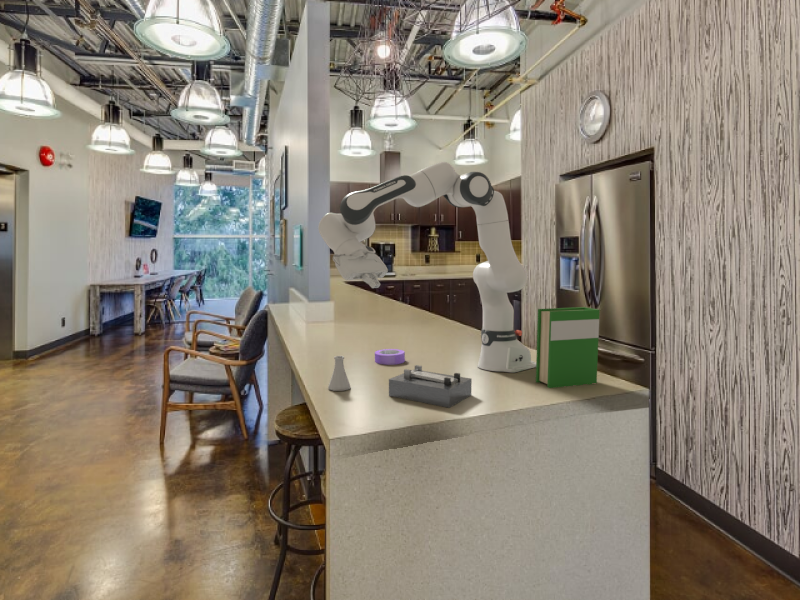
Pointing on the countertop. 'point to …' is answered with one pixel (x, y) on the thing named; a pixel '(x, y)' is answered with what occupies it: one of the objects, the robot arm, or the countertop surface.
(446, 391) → the lever switch box
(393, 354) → the masking tape
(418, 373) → the switch lever
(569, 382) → the hardback book
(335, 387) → the flask
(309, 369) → the countertop surface
